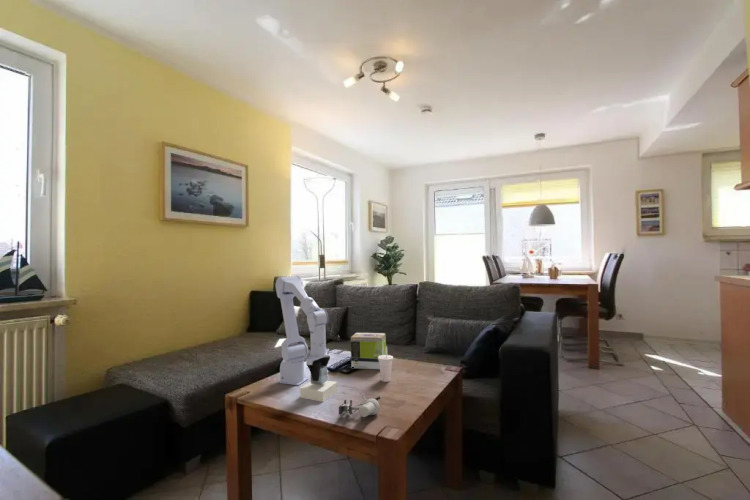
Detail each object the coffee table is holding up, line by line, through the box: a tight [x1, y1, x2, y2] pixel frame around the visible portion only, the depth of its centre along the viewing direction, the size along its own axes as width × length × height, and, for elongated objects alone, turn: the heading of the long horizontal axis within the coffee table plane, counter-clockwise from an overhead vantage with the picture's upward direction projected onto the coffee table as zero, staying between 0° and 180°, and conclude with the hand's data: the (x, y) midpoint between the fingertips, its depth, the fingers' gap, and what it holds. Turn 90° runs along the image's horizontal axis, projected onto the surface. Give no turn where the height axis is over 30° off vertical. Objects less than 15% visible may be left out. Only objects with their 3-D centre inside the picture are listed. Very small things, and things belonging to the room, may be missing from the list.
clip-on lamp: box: [338, 391, 383, 419], centre depth 118 cm, size 12×6×18 cm
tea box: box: [350, 332, 387, 370], centre depth 165 cm, size 15×10×15 cm
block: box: [310, 365, 328, 385], centre depth 133 cm, size 5×5×6 cm
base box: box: [299, 379, 338, 403], centre depth 133 cm, size 10×10×4 cm
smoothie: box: [378, 345, 394, 383], centre depth 146 cm, size 6×6×14 cm
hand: (318, 378), depth 133 cm, fingers closed on block, 5 cm apart
